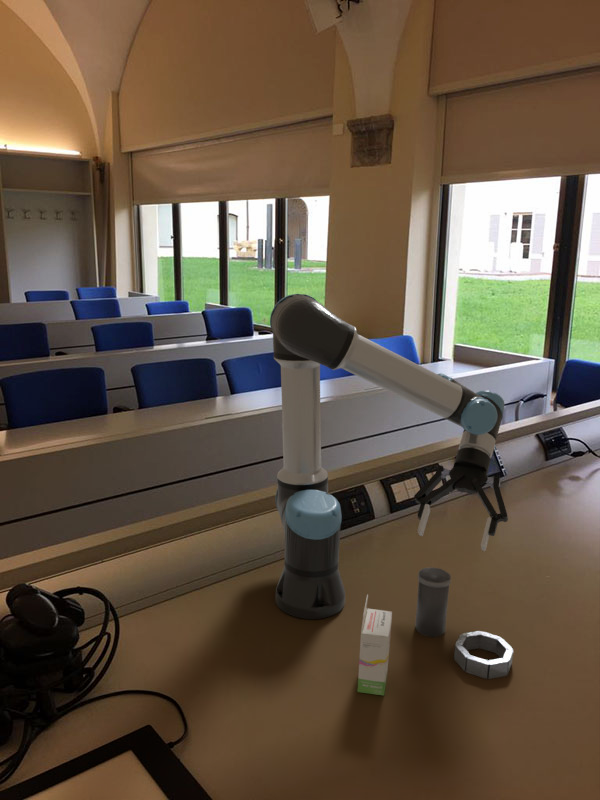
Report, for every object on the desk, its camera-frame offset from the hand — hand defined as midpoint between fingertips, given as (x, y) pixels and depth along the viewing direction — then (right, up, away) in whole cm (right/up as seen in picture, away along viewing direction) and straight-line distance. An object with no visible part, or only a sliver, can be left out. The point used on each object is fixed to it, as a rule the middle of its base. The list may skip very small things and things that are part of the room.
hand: (450, 540), depth 143 cm
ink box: (-19, -21, -22) cm, 35 cm away
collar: (+3, -19, -16) cm, 25 cm away
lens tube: (-5, -17, -5) cm, 18 cm away
